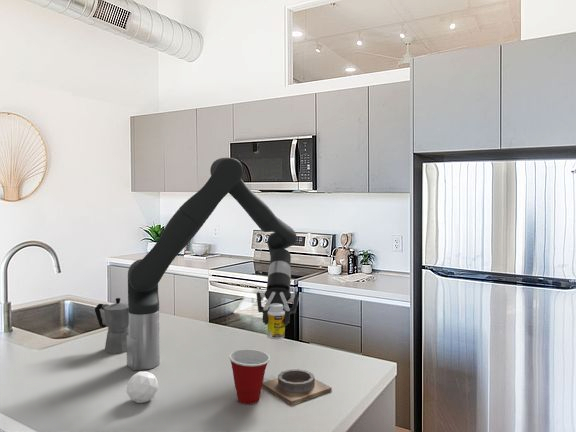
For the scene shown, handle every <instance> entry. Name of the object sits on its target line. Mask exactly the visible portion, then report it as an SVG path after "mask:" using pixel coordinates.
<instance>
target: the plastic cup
mask: <svg viewBox="0 0 576 432" xmlns="http://www.w3.org/2000/svg"><path fill="white" fill-rule="evenodd" d="M228 358H229V361H230V365H231V369H232V375H233V381H234V388H235V393H236V397H237V401H238V402H239V403H240V404H243V405H253V404H256V403H258V402H259V401H260V398H261V392H262V388H263V387H262V384H263V382H264V377H265V373H266V372H265V371H266V369H267V365H268V363H269V362H270V360H271V359H270V358H271V356H270V355H269V354H268V353H266V352H264V351H262V350H258V349H254V348H253V349H252V348H242V349H237V350H233V351H232V352H231V353H229V356H228Z"/></svg>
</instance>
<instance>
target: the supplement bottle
mask: <svg viewBox="0 0 576 432" xmlns="http://www.w3.org/2000/svg"><path fill="white" fill-rule="evenodd" d="M285 330H286V325H285V310H284V308H283V305H282V304H279V303H273V304H271V305H270V310H269V311H268V313H267V325H266V337H267V338H268V339H271V340H281V339H284V338H285V335H286V334H285V333H286V331H285Z"/></svg>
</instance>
